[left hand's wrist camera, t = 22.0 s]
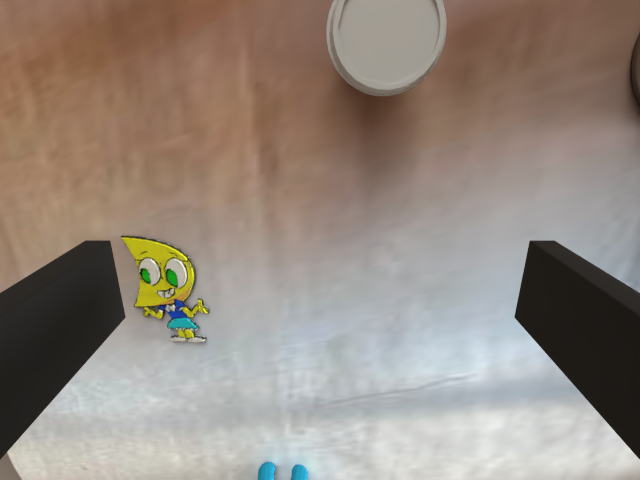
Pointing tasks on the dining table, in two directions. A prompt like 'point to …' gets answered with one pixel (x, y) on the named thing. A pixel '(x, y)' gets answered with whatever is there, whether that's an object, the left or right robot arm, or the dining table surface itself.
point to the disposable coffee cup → (385, 42)
